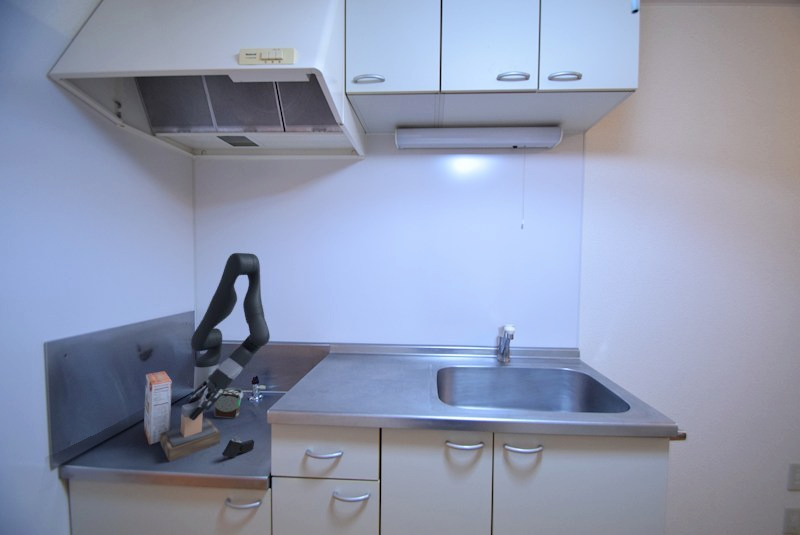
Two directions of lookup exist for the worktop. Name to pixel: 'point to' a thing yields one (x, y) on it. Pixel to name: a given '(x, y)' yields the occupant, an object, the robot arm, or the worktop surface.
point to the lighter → (237, 447)
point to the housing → (190, 420)
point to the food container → (228, 403)
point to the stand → (189, 441)
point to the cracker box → (157, 406)
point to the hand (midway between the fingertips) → (187, 414)
